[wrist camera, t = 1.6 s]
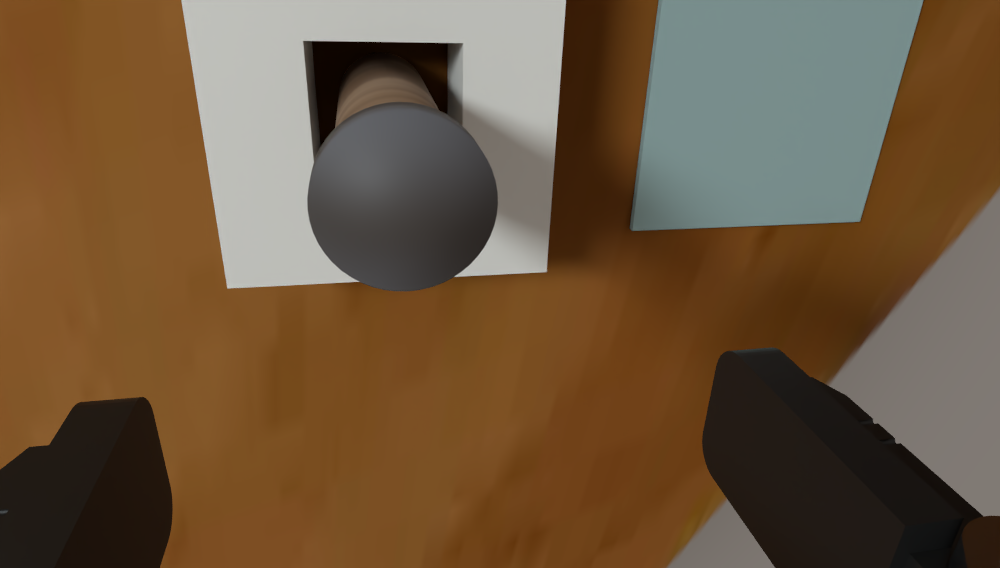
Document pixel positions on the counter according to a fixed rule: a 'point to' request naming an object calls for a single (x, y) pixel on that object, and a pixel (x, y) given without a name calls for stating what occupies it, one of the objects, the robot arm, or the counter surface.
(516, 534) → the counter surface
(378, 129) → the pin
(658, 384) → the counter surface
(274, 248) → the eye block
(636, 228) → the mat
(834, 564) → the robot arm
